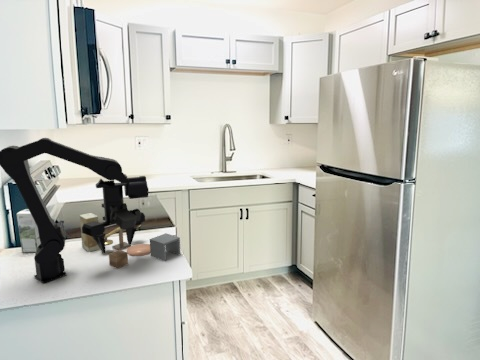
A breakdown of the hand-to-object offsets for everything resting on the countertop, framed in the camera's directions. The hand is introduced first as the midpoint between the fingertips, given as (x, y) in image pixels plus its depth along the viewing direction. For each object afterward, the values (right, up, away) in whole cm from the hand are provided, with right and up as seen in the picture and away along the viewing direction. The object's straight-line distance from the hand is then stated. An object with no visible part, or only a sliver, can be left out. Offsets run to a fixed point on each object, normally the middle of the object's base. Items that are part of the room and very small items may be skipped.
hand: (117, 248), depth 109 cm
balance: (-4, -3, +15) cm, 16 cm away
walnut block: (0, -5, +1) cm, 6 cm away
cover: (+13, -4, +8) cm, 16 cm away
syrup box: (-34, -3, +14) cm, 37 cm away
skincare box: (-14, -3, +15) cm, 21 cm away
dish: (+4, -3, +12) cm, 13 cm away
